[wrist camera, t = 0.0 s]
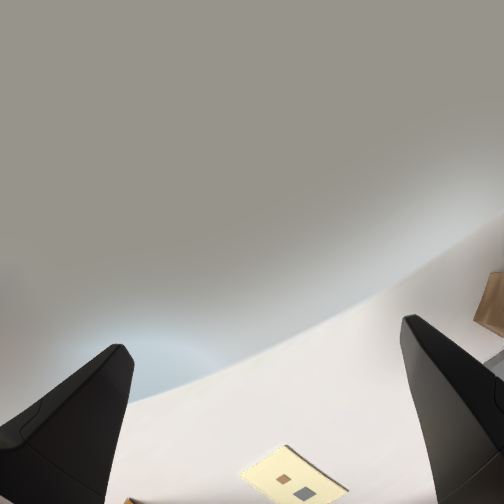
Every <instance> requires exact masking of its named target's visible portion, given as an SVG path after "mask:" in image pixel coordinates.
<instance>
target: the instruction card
mask: <svg viewBox="0 0 504 504" xmlns="http://www.w3.org/2000/svg"><path fill="white" fill-rule="evenodd" d="M239 476H240V477H241V478H243V479H244V480H245V481H247V482H248V483H249V484H251V485H252V486H253V487H255V488H256V489H258V490H259V491H260V492H262V493H263V494H265V495H266V496H267V497H269V498H270V499H272V500H273V501H275V502H276V503H278V504H330V503H331V502H333V501H335V500H336V499H338V498H340V497H341V496H343V495H345V494H346V493H348V491H346V490H345V489H343V488H342V487H340V486H339V485H337V484H336V483H334V482H333V481H332V480H330V479H329V478H327V477H326V476H324V475H323V474H322V473H320V472H319V471H317V470H316V469H315V468H313V467H312V466H311V465H309V464H308V463H307V462H305V461H304V460H303V459H301V458H300V457H299V456H298V455H296V454H295V453H294V452H292V451H291V450H290V449H289V448H287V447H286V446H285V445H284V446H283V447H281V448H280V449H279V450H277V451H276V452H274V453H273V454H271V455H270V456H268V457H267V458H265V459H264V460H262V461H261V462H259V463H258V464H256V465H255V466H253V467H251V468H250V469H248V470H247V471H245V472H243V473H242V474H240V475H239Z"/></svg>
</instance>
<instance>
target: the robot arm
mask: <svg viewBox="0 0 504 504" xmlns="http://www.w3.org/2000/svg"><path fill="white" fill-rule="evenodd" d="M400 345H401V349H402V354H403V358H404V363H405V368H406V373H407V378H408V383H409V387H410V391H411V394H412V398H413V401H414V404H415V408H416V411H417V414H418V418H419V422H420V425H421V429H422V433H423V436H424V440H425V444H426V448H427V452H428V457H429V461H430V465H431V470H432V475H433V479H434V484H435V490H436V495H437V501H438V504H504V381H503V380H502V379H501V378H499V377H498V376H496V375H495V374H494V373H493V372H492V371H490V370H489V369H488V368H487V367H485V366H484V365H483V364H482V363H480V362H479V361H478V360H476V359H475V358H474V357H473V356H471V355H470V354H469V353H467V352H466V351H465V350H464V349H462V348H461V347H460V346H458V345H457V344H456V343H454V342H453V341H452V340H450V339H449V338H448V337H446V336H445V335H444V334H442V333H441V332H440V331H438V330H437V329H436V328H434V327H433V326H432V325H430V324H429V323H427V322H426V321H425V320H423V319H422V318H421V317H419V316H418V315H416V314H414V315H409V316H405V317H403V319H402V325H401V332H400ZM133 371H134V361H133V358H132V357H131V355H130V354H129V352H128V350H127V349H126V347H125V346H124V345H123V344H112V345H110V346H109V347H108V348H106V349H105V350H104V351H102V352H101V353H100V354H99V355H97V356H96V357H95V358H93V359H92V360H91V361H89V362H88V363H87V364H85V365H84V366H83V367H81V368H80V369H79V370H77V371H76V372H75V373H73V374H72V375H71V376H69V377H68V378H67V379H66V380H64V381H63V382H62V383H60V384H59V385H58V386H56V387H55V388H54V389H53V390H51V391H50V392H49V393H47V394H46V395H45V396H44V397H43V398H41V399H40V400H38V401H37V402H36V403H34V404H33V405H32V406H30V407H29V408H27V409H26V410H24V411H23V412H22V413H20V414H19V415H17V416H16V417H14V418H13V419H11V420H10V421H8V422H7V423H5V424H3V425H2V426H0V504H104V502H105V496H106V491H107V486H108V481H109V476H110V472H111V467H112V463H113V458H114V454H115V450H116V446H117V442H118V438H119V434H120V430H121V426H122V422H123V418H124V415H125V411H126V407H127V403H128V398H129V393H130V387H131V381H132V376H133Z"/></svg>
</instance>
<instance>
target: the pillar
mask: <svg viewBox="0 0 504 504" xmlns="http://www.w3.org/2000/svg"><path fill="white" fill-rule="evenodd" d="M473 321H475V322H477V323H478V324H480V325H482V326H484V327H485V328H487V329H489V330H491V331H492V332H494V333H496V334H497V335H499V336H501V337H503V338H504V273H491V274H490V277H489V280H488V283H487V286H486V289H485V291H484V294H483V297H482V299H481V302H480V305H479V307H478V310H477V312H476V314H475V317H474V319H473Z"/></svg>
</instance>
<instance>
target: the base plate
mask: <svg viewBox="0 0 504 504" xmlns="http://www.w3.org/2000/svg"><path fill="white" fill-rule="evenodd" d="M483 365H484V366H485V367H487V368H488V369H489V370H490V371H492V372H493V373H494V374H495V375H496V376H498V377H499V378H501V379H502V380H503V381H504V350H503V351H502V352H500V353H499V354H498V355H496V356H495V357H493V358H492V359H491V360H489V361H488V362H486V363H485V364H483Z"/></svg>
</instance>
